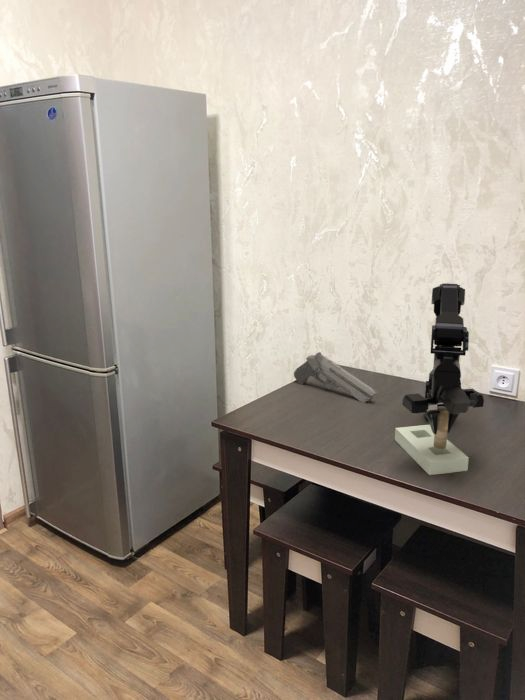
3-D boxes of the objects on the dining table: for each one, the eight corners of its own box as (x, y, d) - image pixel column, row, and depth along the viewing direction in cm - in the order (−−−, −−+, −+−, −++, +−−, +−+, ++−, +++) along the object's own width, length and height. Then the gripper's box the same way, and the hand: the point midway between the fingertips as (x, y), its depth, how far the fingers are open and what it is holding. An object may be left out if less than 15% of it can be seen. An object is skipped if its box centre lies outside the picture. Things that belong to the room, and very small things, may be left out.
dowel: (442, 443, 141) (445, 405, 138) (448, 448, 138) (451, 410, 135) (431, 444, 140) (434, 406, 138) (437, 449, 138) (440, 411, 135)
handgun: (364, 426, 186) (379, 389, 178) (358, 429, 184) (374, 392, 176) (295, 376, 202) (307, 341, 195) (290, 378, 200) (301, 343, 193)
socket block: (394, 439, 154) (395, 428, 153) (428, 436, 156) (429, 424, 155) (429, 475, 135) (430, 462, 134) (467, 470, 137) (468, 457, 136)
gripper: (424, 387, 125) (420, 451, 129) (501, 380, 128) (494, 443, 132) (403, 371, 135) (399, 431, 140) (474, 365, 138) (468, 424, 143)
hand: (440, 433), depth 138 cm, fingers closed on dowel, 3 cm apart
